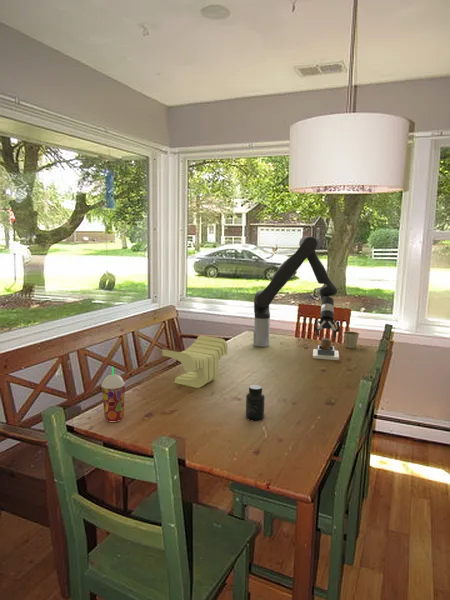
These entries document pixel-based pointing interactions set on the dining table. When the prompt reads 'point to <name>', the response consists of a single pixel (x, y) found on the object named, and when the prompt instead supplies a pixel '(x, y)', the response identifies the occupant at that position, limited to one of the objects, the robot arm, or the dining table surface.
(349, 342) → the flower pot
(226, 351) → the slatted curved stool
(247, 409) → the supplement bottle
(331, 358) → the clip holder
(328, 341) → the walnut block
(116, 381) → the smoothie
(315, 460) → the dining table surface
